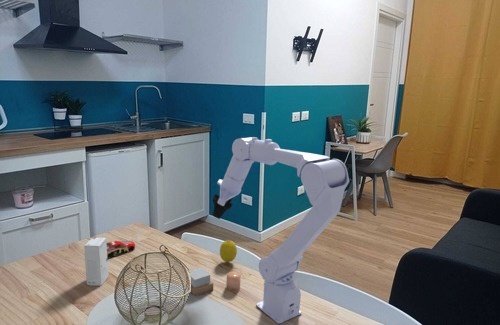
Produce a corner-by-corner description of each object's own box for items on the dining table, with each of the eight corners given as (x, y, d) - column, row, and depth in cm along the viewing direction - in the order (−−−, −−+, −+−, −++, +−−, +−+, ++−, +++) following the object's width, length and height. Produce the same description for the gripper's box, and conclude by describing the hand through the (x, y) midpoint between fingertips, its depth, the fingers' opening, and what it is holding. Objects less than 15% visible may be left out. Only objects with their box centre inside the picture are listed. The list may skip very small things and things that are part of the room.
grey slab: (210, 282, 104) (210, 274, 103) (194, 288, 101) (194, 279, 100) (201, 275, 108) (201, 267, 107) (185, 280, 105) (185, 272, 104)
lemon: (237, 259, 123) (238, 237, 121) (235, 267, 118) (235, 244, 116) (221, 258, 123) (221, 235, 122) (218, 265, 118) (218, 242, 116)
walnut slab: (213, 291, 104) (213, 283, 104) (194, 297, 101) (194, 289, 100) (202, 281, 109) (202, 274, 108) (184, 287, 105) (184, 279, 105)
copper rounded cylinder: (242, 289, 105) (243, 276, 105) (231, 293, 103) (231, 280, 102) (235, 282, 109) (235, 270, 108) (223, 286, 106) (223, 274, 105)
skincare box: (101, 286, 104) (100, 246, 101) (85, 285, 103) (83, 245, 101) (109, 275, 110) (107, 237, 107) (93, 274, 110) (92, 236, 107)
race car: (130, 245, 131) (130, 234, 130) (138, 250, 127) (138, 239, 126) (93, 255, 122) (93, 244, 121) (100, 261, 118) (100, 250, 117)
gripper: (231, 157, 109) (217, 191, 116) (214, 180, 97) (199, 217, 104) (252, 167, 109) (237, 201, 116) (238, 192, 96) (221, 228, 103)
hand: (221, 209), depth 110 cm, fingers open, 7 cm apart
